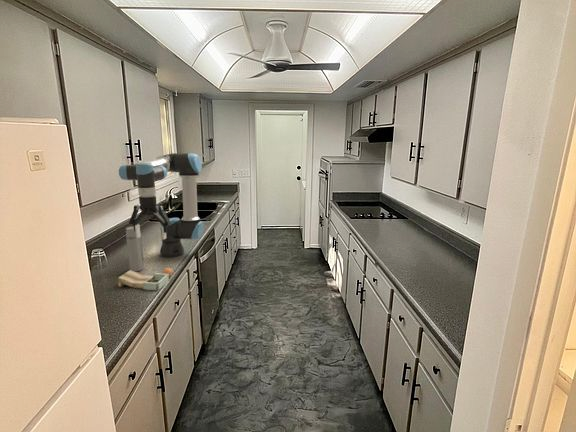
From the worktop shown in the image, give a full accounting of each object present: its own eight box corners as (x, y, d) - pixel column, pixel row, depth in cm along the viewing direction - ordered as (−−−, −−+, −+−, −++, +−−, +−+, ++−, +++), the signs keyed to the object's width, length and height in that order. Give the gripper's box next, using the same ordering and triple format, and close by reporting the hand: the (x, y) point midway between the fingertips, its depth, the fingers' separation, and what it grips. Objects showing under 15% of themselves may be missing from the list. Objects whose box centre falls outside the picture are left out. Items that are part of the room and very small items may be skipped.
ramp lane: (129, 278, 174) (128, 269, 173) (154, 280, 173) (153, 271, 172) (118, 286, 165) (117, 277, 164) (144, 288, 163) (143, 279, 162)
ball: (165, 274, 180) (164, 266, 179) (174, 275, 179) (173, 266, 178) (161, 278, 175) (160, 269, 174) (169, 278, 174) (169, 270, 173)
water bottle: (128, 273, 181) (123, 230, 175) (131, 267, 189) (126, 226, 183) (146, 271, 184) (142, 229, 178) (148, 266, 191) (144, 225, 185)
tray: (155, 279, 174) (155, 273, 173) (169, 280, 173) (169, 273, 172) (143, 289, 162) (142, 282, 161) (158, 290, 161) (157, 283, 161)
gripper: (118, 196, 152) (123, 239, 158) (168, 198, 150) (172, 241, 155) (127, 193, 160) (132, 234, 165) (175, 195, 157) (178, 236, 162)
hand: (151, 238), depth 160 cm, fingers open, 13 cm apart
